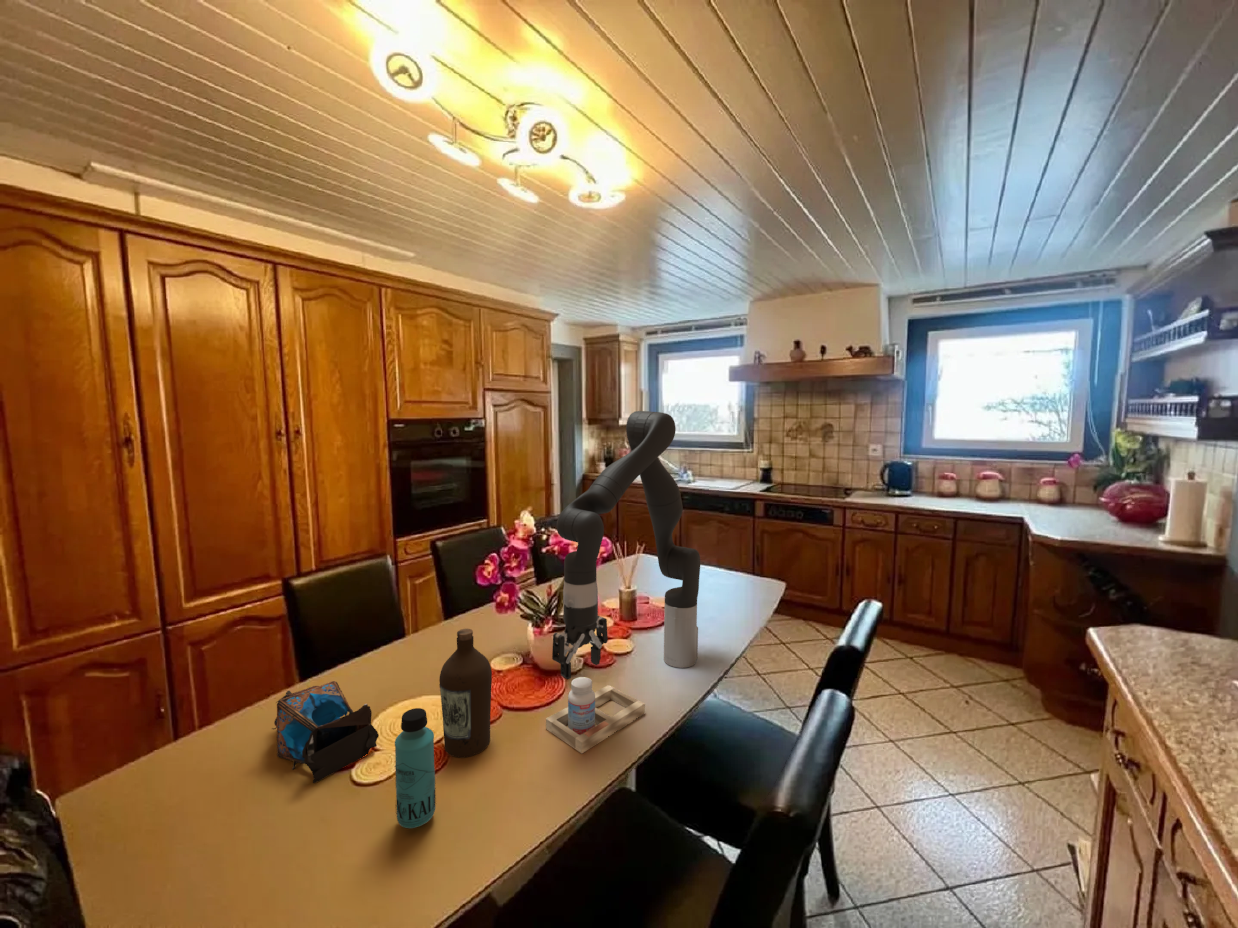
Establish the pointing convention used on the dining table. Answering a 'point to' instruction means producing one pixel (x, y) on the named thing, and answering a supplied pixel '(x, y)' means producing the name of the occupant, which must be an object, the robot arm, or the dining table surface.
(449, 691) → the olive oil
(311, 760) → the lantern
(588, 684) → the pill bottle
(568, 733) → the plate
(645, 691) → the dining table surface
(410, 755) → the beverage bottle
